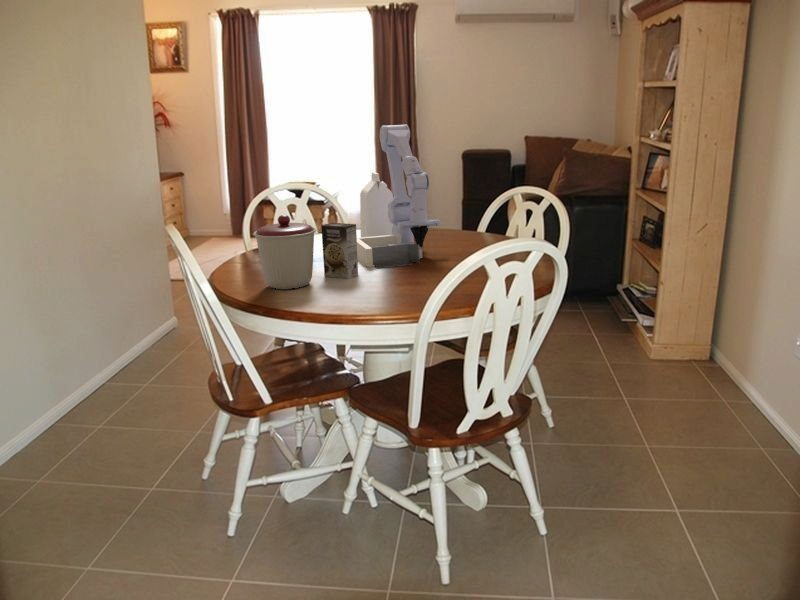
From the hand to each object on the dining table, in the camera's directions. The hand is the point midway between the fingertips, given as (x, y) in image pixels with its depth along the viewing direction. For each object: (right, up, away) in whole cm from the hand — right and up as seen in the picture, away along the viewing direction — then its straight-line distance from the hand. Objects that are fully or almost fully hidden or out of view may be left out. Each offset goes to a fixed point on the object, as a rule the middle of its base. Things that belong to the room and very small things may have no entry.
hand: (419, 248), depth 247 cm
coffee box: (-25, -11, -25) cm, 37 cm away
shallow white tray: (-13, -4, -3) cm, 14 cm away
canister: (-40, -14, -35) cm, 55 cm away
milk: (-15, +5, +31) cm, 35 cm away
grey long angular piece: (-8, -6, -13) cm, 16 cm away
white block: (-5, -3, -1) cm, 6 cm away
